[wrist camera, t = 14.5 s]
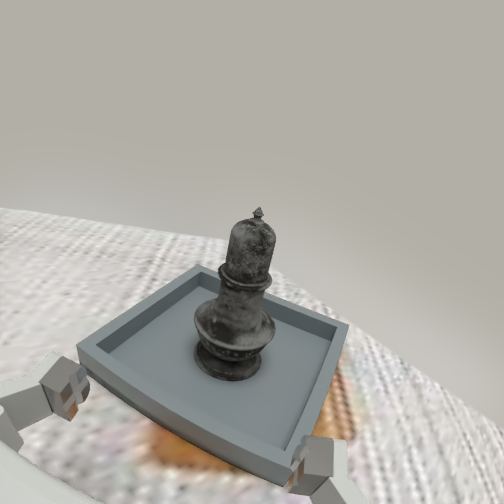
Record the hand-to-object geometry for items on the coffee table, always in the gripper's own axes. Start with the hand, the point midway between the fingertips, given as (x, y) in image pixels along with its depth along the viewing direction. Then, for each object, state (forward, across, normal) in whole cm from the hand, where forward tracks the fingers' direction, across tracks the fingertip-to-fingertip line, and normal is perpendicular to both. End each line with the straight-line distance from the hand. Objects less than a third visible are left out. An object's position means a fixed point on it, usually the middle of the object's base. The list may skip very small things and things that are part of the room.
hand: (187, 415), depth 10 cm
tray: (+12, 0, -9) cm, 15 cm away
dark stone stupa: (+12, 0, -8) cm, 14 cm away
